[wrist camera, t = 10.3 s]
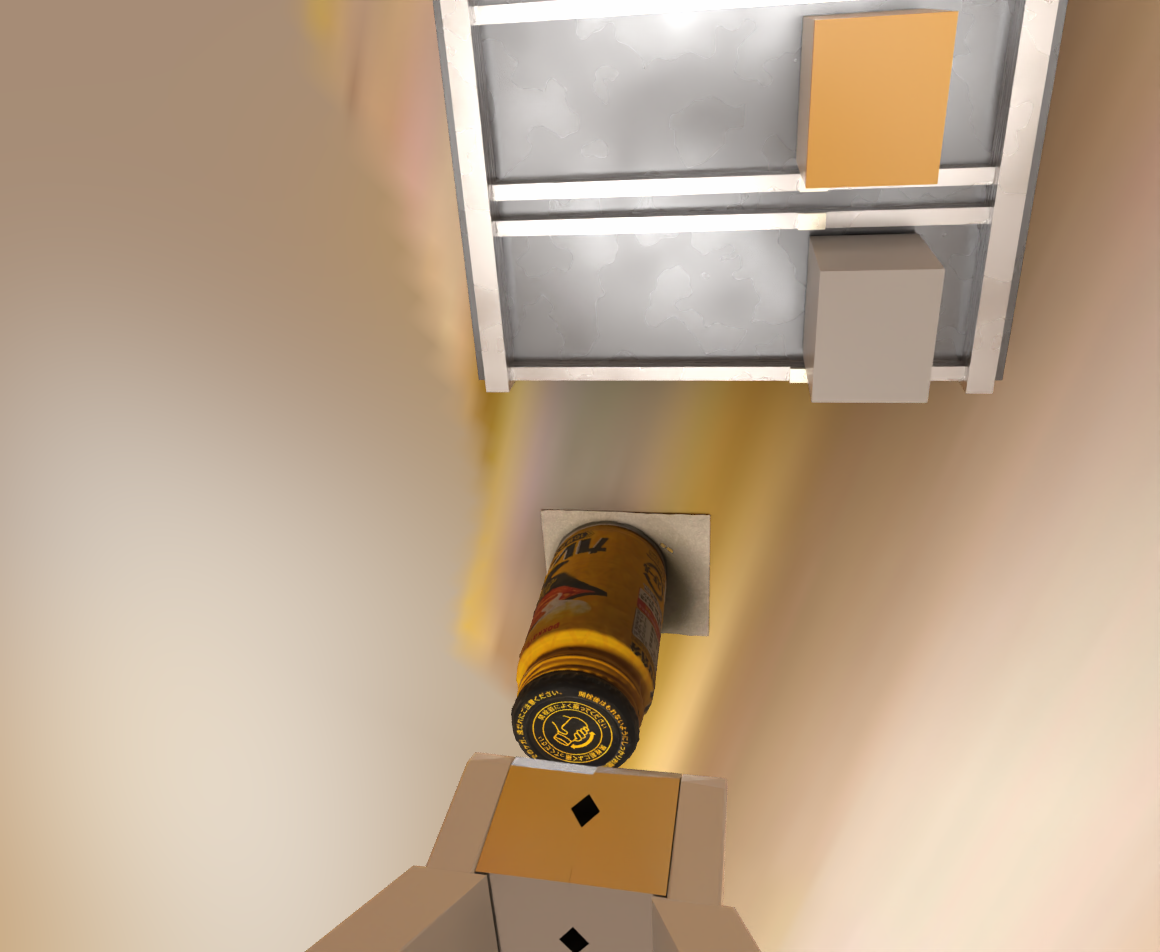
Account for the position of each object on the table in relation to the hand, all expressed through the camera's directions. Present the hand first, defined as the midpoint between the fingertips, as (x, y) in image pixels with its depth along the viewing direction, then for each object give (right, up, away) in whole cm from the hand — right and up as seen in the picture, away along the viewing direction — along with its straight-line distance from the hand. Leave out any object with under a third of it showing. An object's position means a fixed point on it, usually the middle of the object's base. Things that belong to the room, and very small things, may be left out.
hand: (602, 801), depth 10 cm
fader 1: (+10, +18, +21) cm, 29 cm away
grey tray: (+6, +15, +26) cm, 31 cm away
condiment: (+2, -1, +36) cm, 36 cm away
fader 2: (+11, +11, +25) cm, 29 cm away
